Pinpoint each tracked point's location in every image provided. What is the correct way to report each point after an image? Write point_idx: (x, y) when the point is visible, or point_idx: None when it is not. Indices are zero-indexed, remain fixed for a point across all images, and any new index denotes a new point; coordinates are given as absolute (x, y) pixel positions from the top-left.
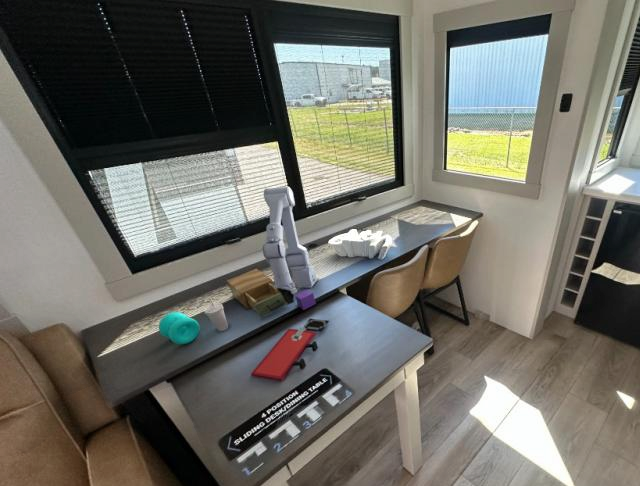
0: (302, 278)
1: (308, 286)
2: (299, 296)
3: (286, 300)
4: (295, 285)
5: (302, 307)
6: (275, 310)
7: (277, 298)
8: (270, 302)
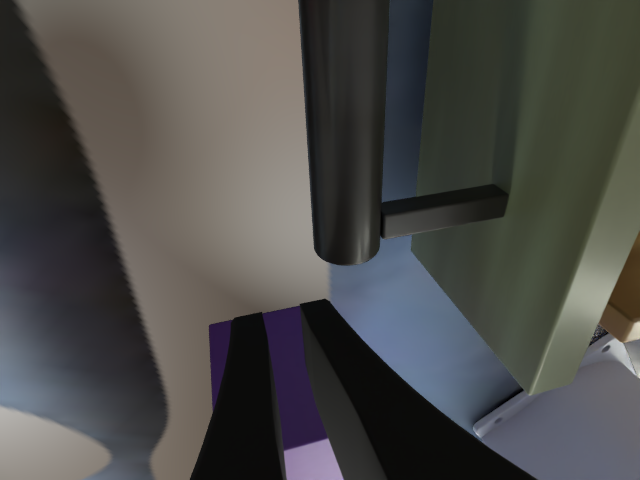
0: (585, 469)
1: (499, 418)
2: (296, 464)
3: (266, 361)
4: (599, 357)
5: (214, 349)
6: (428, 69)
7: (525, 226)
8: (554, 64)
